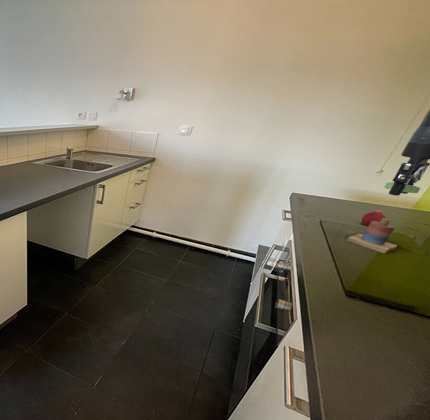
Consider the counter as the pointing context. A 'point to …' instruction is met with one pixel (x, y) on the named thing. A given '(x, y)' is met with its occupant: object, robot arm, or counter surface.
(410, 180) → the robot arm
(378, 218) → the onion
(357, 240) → the stand
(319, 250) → the counter surface
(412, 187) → the ring
